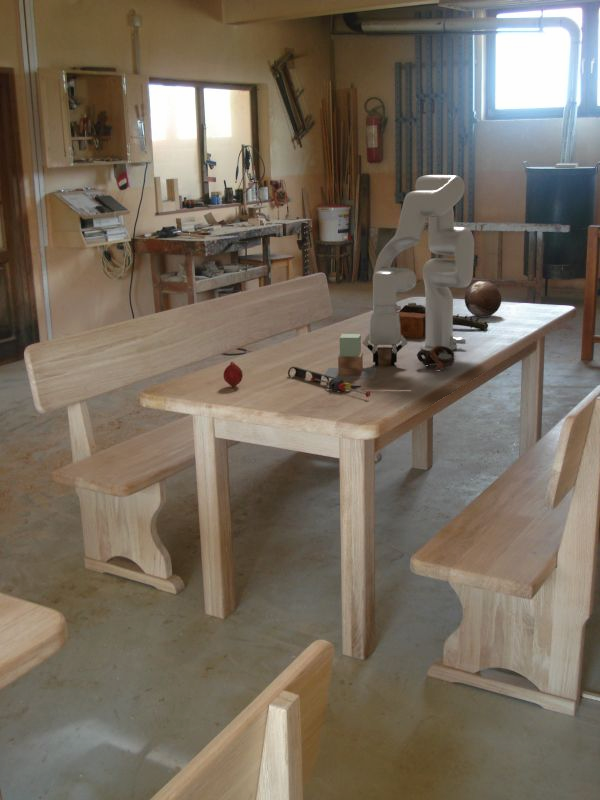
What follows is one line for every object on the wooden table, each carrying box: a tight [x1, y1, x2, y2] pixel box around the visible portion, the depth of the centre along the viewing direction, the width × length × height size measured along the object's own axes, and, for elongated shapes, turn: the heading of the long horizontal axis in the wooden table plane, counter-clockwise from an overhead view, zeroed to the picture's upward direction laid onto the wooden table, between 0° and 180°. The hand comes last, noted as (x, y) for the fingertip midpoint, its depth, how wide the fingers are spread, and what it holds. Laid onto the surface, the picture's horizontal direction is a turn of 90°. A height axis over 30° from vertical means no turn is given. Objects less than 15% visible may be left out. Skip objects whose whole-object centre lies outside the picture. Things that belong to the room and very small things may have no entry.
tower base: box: [337, 351, 364, 376], centre depth 298 cm, size 7×7×6 cm
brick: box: [396, 310, 425, 340], centre depth 357 cm, size 20×8×8 cm, turn 58°
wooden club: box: [399, 302, 489, 331], centre depth 368 cm, size 39×5×10 cm, turn 69°
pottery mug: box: [416, 346, 455, 371], centre depth 303 cm, size 12×10×8 cm
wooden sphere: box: [464, 280, 503, 318], centre depth 388 cm, size 15×15×15 cm
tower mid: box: [339, 333, 362, 357], centre depth 297 cm, size 6×6×6 cm
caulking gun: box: [287, 366, 371, 398], centre depth 284 cm, size 4×37×10 cm
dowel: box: [376, 346, 393, 368], centre depth 308 cm, size 5×5×6 cm
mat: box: [322, 367, 379, 380], centre depth 299 cm, size 16×14×1 cm
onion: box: [223, 361, 244, 388], centre depth 286 cm, size 6×6×8 cm
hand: (384, 364), depth 309 cm, fingers closed on dowel, 5 cm apart
